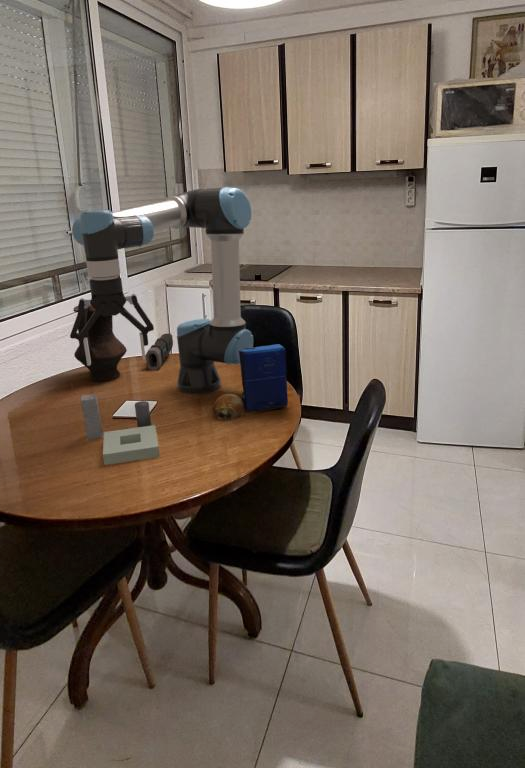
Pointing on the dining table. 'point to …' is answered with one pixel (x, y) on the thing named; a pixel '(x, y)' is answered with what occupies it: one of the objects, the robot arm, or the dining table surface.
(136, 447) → the socket board
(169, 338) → the tube
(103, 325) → the jug
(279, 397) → the book
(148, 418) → the round peg
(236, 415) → the bread roll
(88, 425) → the square peg
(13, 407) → the dining table surface
